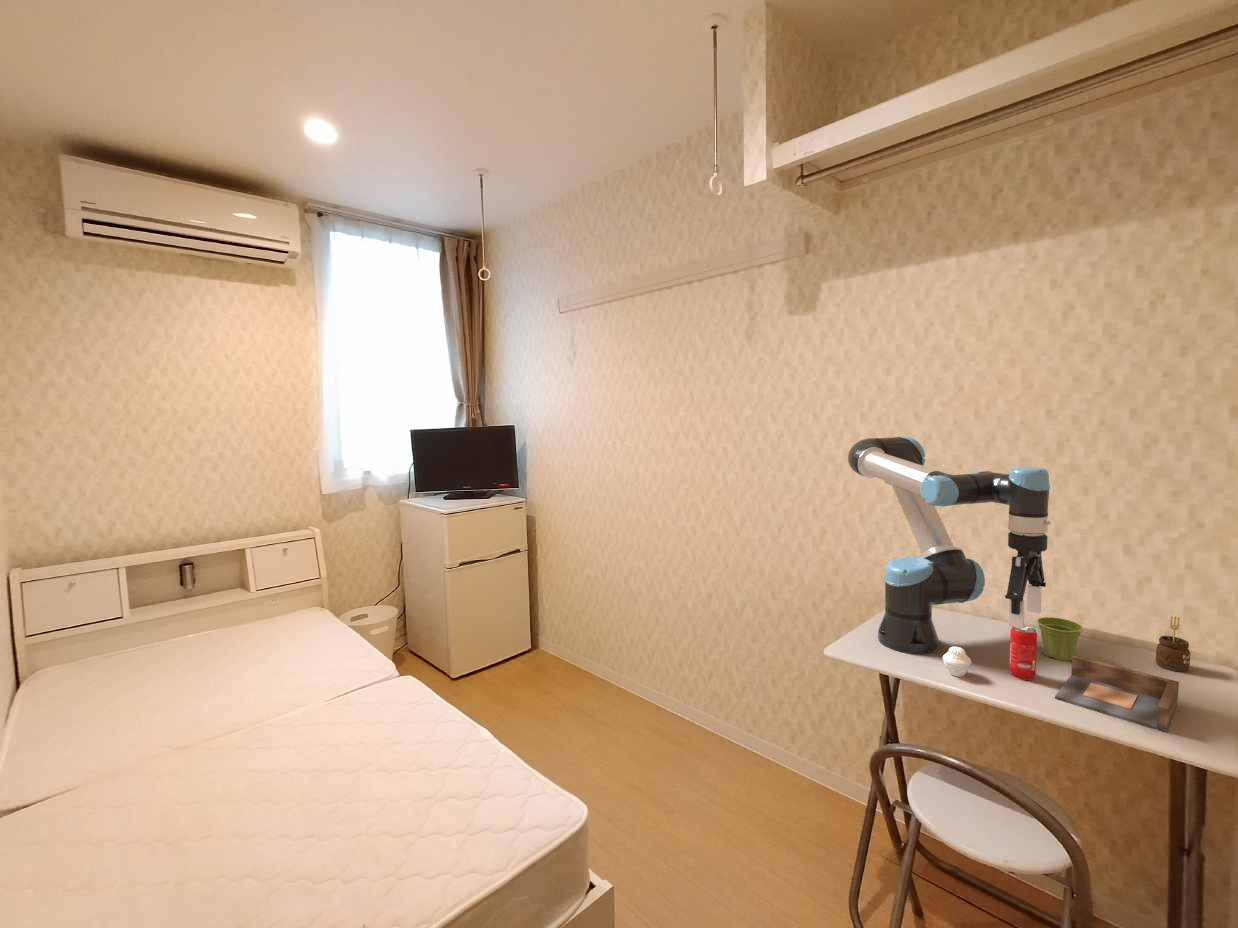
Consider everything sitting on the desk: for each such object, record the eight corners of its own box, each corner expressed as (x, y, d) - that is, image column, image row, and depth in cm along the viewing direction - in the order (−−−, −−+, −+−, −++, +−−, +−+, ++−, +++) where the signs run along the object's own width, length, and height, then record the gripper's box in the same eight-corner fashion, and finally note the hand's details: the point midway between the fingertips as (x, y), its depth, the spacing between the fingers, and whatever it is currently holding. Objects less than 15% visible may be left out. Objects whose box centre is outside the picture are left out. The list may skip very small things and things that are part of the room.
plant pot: (1090, 664, 139) (1092, 631, 138) (1047, 662, 141) (1049, 630, 140) (1068, 648, 148) (1069, 617, 147) (1028, 647, 150) (1029, 616, 149)
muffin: (955, 681, 133) (956, 653, 133) (936, 669, 139) (936, 643, 139) (977, 677, 135) (978, 650, 134) (957, 666, 141) (958, 640, 140)
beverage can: (1006, 676, 135) (1008, 628, 134) (1011, 668, 138) (1013, 622, 137) (1033, 683, 131) (1035, 634, 130) (1037, 675, 135) (1039, 627, 134)
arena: (1054, 698, 124) (1055, 677, 124) (1072, 674, 134) (1073, 655, 134) (1166, 732, 110) (1168, 708, 110) (1177, 703, 120) (1178, 681, 120)
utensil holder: (1155, 667, 136) (1158, 620, 135) (1155, 658, 141) (1158, 613, 140) (1189, 674, 132) (1193, 626, 131) (1188, 665, 137) (1192, 619, 135)
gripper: (1031, 544, 120) (1028, 638, 122) (1061, 526, 136) (1058, 609, 138) (991, 539, 126) (989, 628, 128) (1024, 522, 142) (1022, 602, 144)
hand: (1025, 619), depth 133 cm, fingers open, 13 cm apart
